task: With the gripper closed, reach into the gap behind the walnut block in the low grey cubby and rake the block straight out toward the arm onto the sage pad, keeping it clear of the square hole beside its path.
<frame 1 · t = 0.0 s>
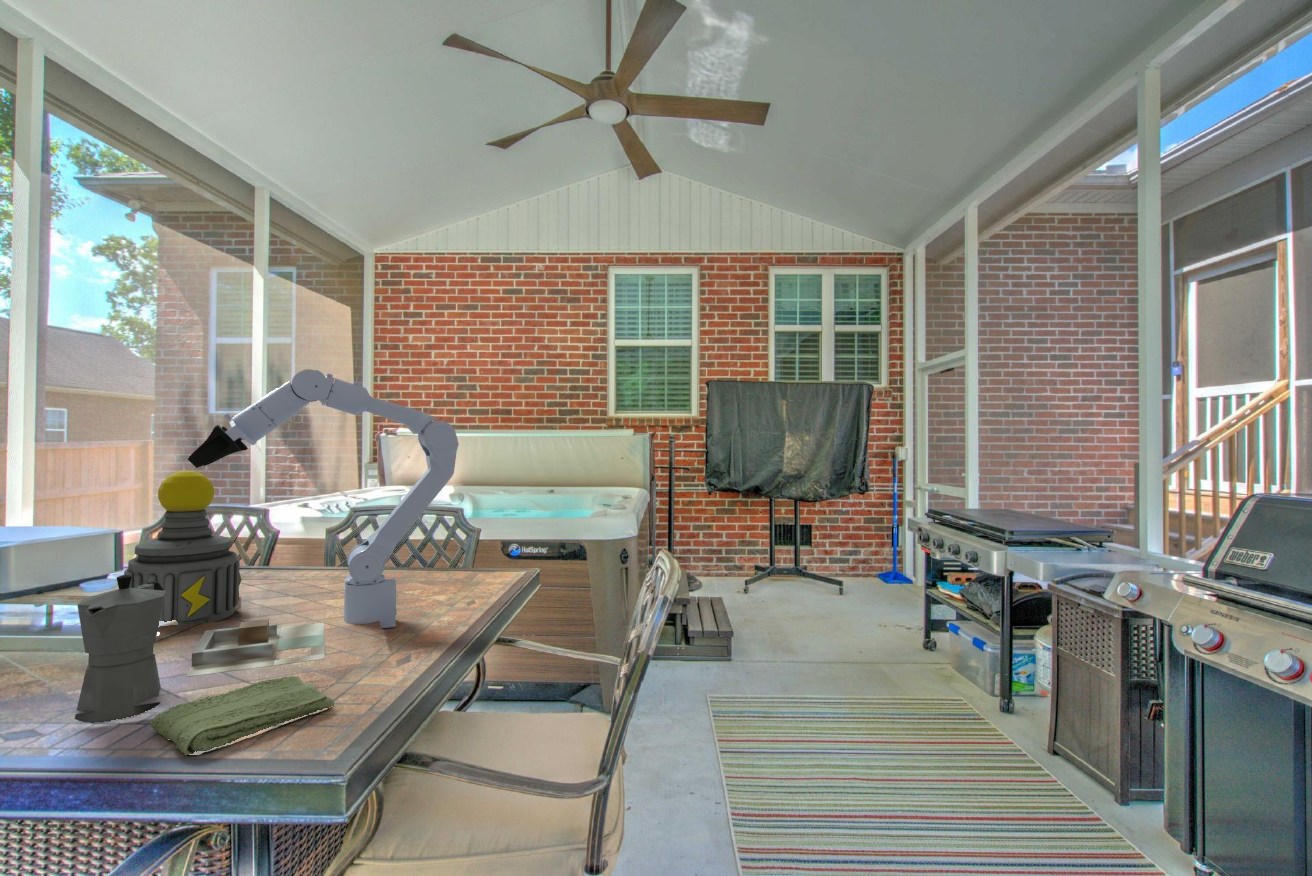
hand: (196, 462, 109), 32 cm above the table, tool tilted 50°, fingers open, 7 cm apart
hook: (136, 646, 108), on the table
walnut block: (253, 647, 104), point 1 cm above the table, touching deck
washcloth: (246, 723, 81), on the table
coffeepot: (125, 706, 84), on the table
decorative lamp: (182, 619, 124), on the table
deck: (263, 654, 104), on the table
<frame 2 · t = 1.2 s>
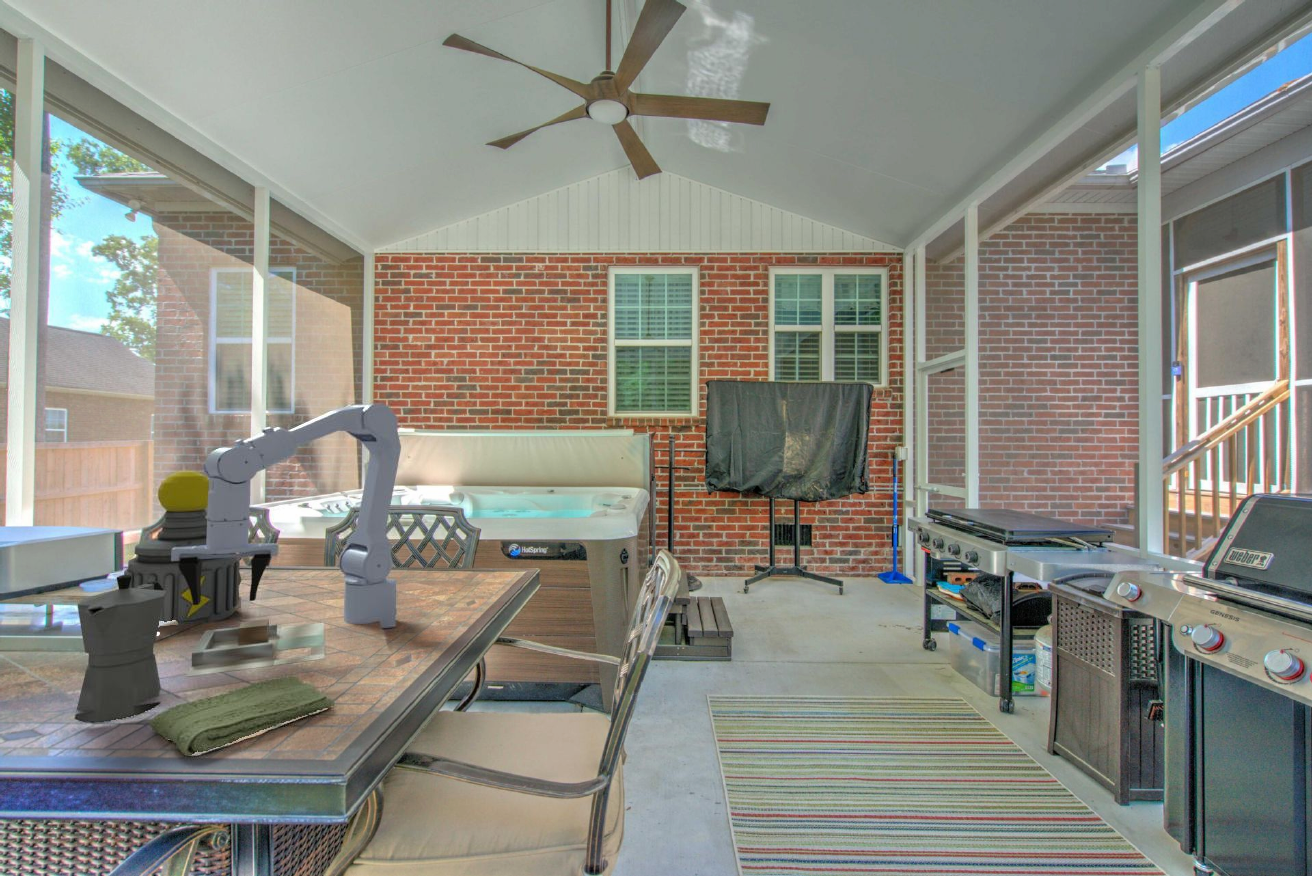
hand: (225, 601, 102), 10 cm above the table, tool pointing down, fingers open, 7 cm apart
nothing on the table moved.
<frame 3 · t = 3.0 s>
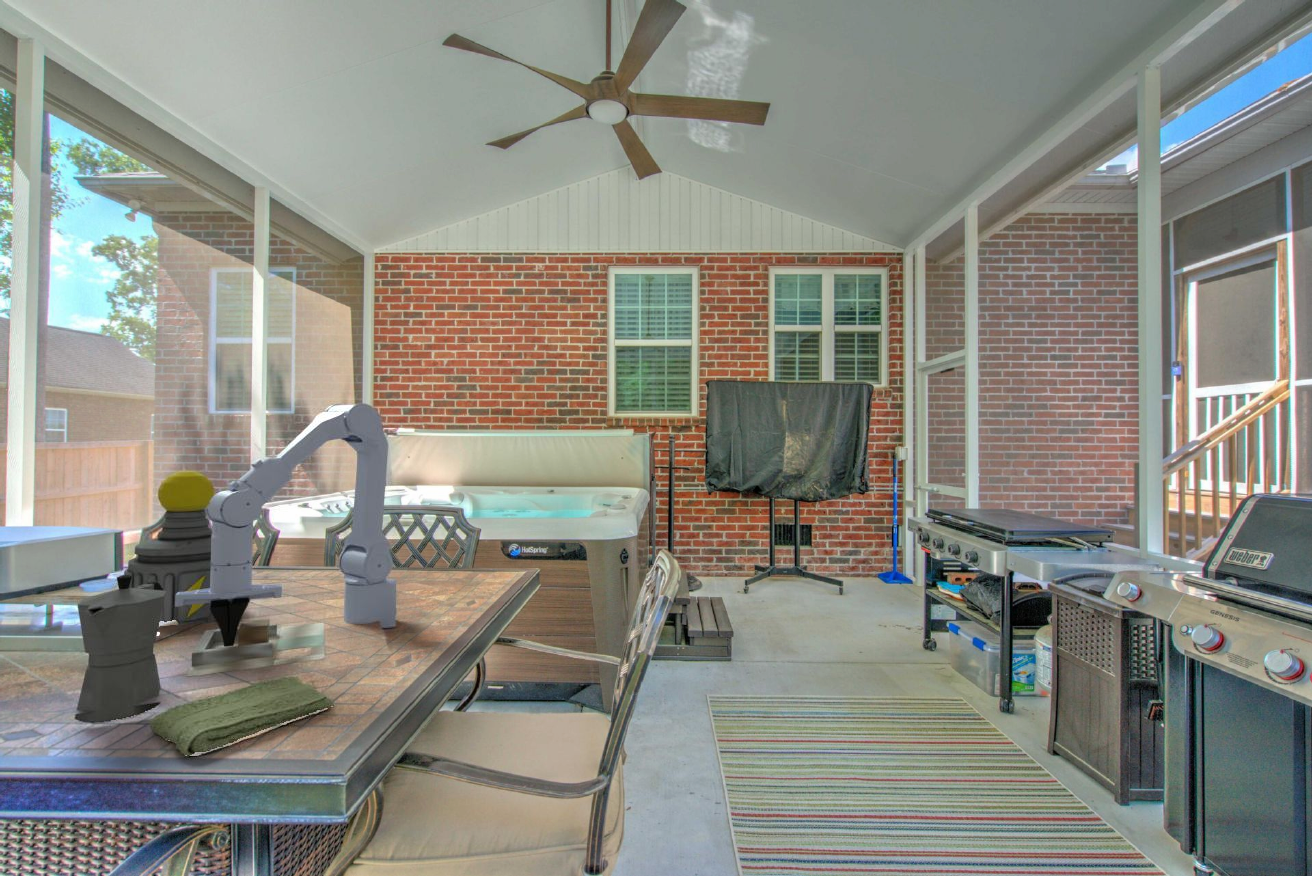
hand: (229, 644, 102), 2 cm above the table, tool pointing down, fingers closed
walnut block: (253, 647, 104), point 2 cm above the table, touching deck, gripper
everything else where it was.
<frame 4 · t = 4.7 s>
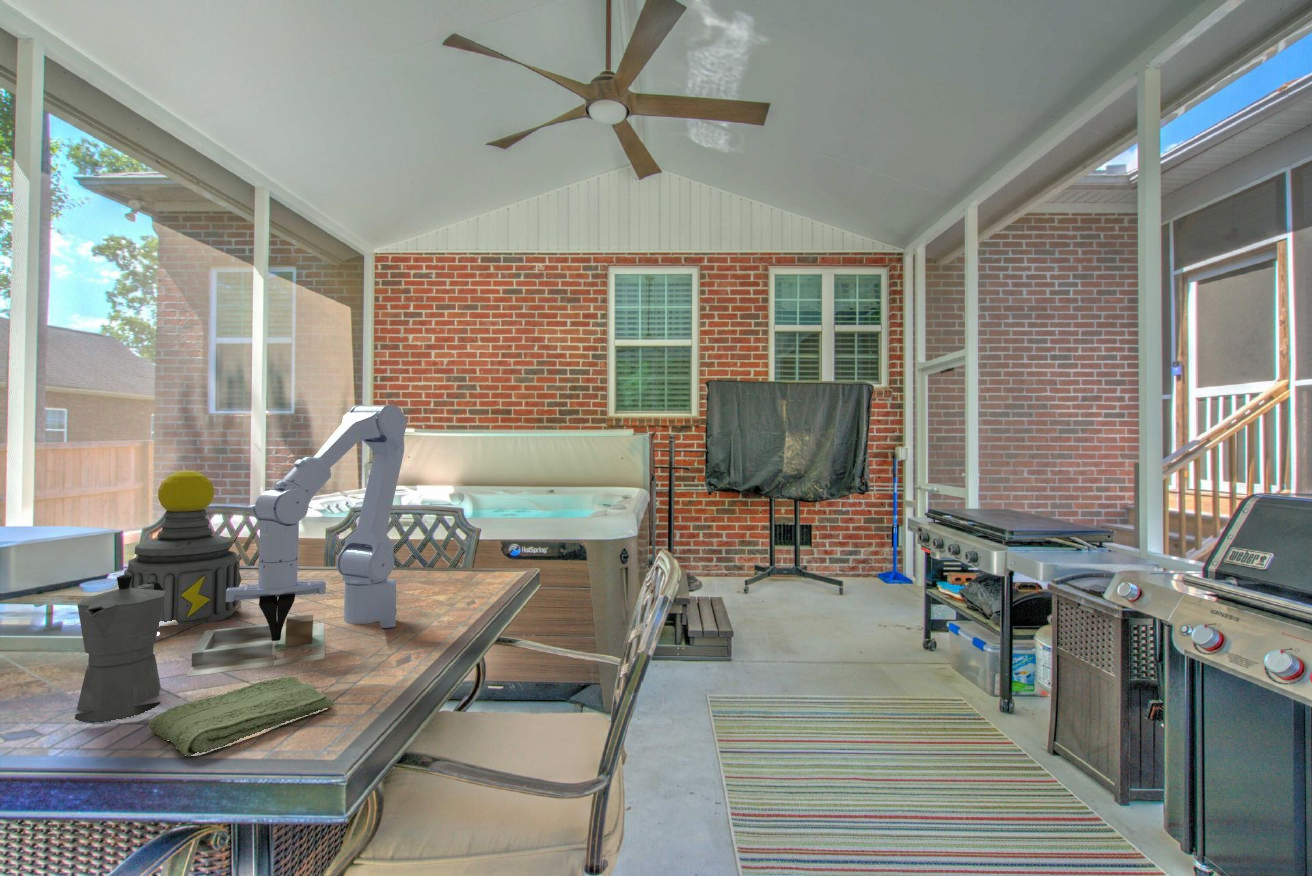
hand: (276, 639, 105), 2 cm above the table, tool pointing down, fingers closed
walnut block: (299, 641, 107), point 2 cm above the table, touching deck, gripper
everything else where it was.
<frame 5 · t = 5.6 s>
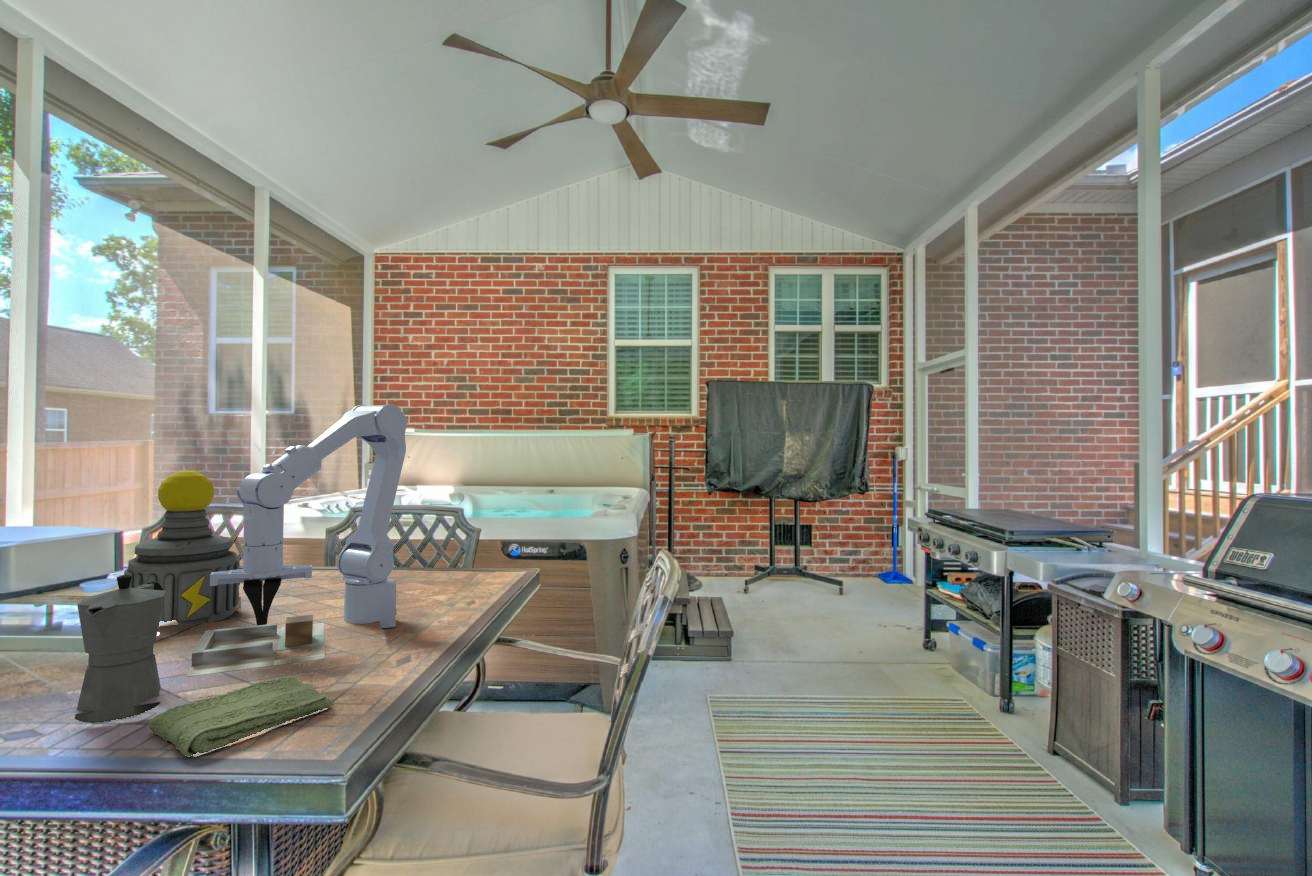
hand: (262, 623, 104), 5 cm above the table, tool pointing down, fingers closed
walnut block: (299, 641, 107), point 1 cm above the table, touching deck
everything else where it was.
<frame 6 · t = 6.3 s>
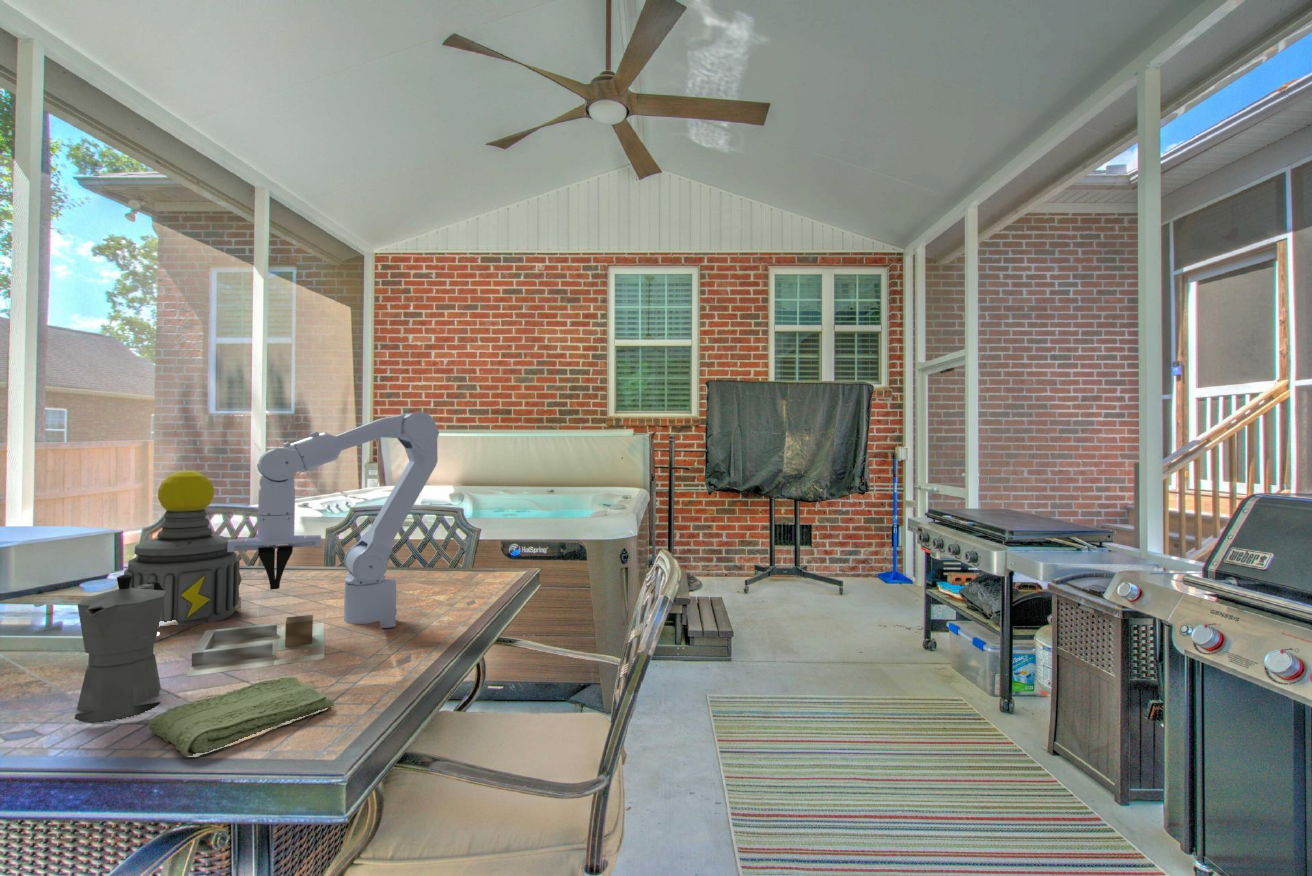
hand: (274, 588, 112), 9 cm above the table, tool pointing down, fingers closed
nothing on the table moved.
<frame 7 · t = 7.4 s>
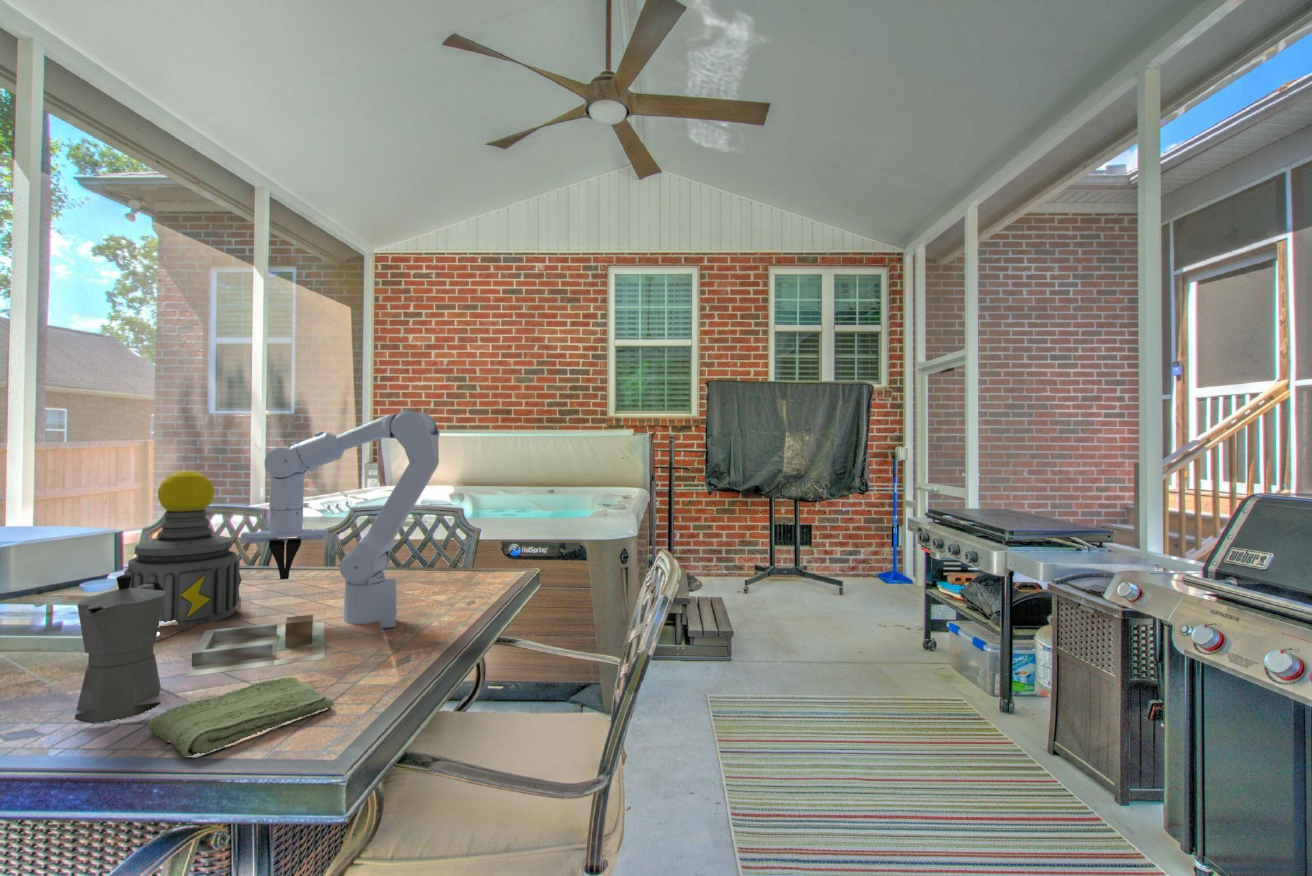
hand: (284, 578, 120), 9 cm above the table, tool pointing down, fingers closed
nothing on the table moved.
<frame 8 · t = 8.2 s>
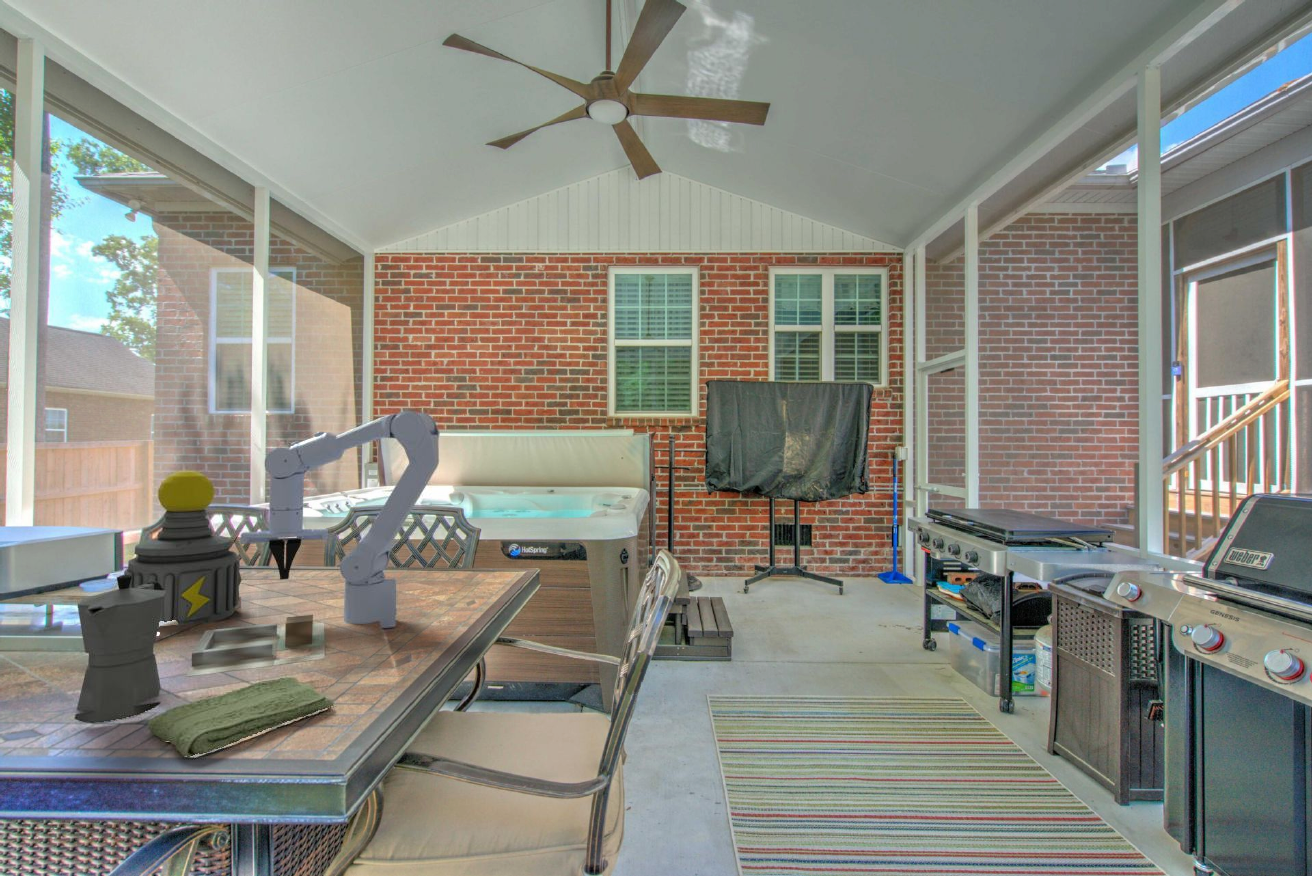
hand: (284, 578, 120), 9 cm above the table, tool pointing down, fingers closed
nothing on the table moved.
at the end: walnut block 0.3 cm from the target spot, point 1.5 cm above the table; walnut block moved 6.6 cm from its start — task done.
